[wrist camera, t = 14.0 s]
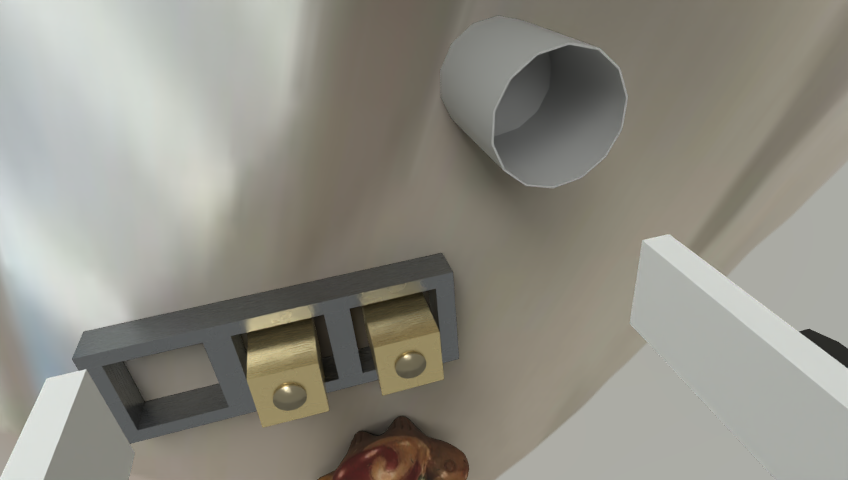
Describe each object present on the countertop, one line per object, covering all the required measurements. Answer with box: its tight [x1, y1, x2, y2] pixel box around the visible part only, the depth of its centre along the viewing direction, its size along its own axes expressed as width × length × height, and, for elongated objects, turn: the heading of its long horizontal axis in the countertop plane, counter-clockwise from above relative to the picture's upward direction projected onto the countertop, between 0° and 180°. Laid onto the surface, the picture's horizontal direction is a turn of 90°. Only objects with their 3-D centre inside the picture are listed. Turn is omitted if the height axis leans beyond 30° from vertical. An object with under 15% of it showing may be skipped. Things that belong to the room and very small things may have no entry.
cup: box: [440, 15, 628, 188], centre depth 34 cm, size 8×8×10 cm
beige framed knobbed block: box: [361, 292, 444, 396], centre depth 43 cm, size 5×5×7 cm
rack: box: [72, 253, 459, 444], centre depth 44 cm, size 9×28×3 cm, turn 95°
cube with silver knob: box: [247, 317, 329, 428], centre depth 42 cm, size 5×5×7 cm
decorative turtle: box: [317, 416, 469, 480], centre depth 51 cm, size 10×15×8 cm, turn 113°
